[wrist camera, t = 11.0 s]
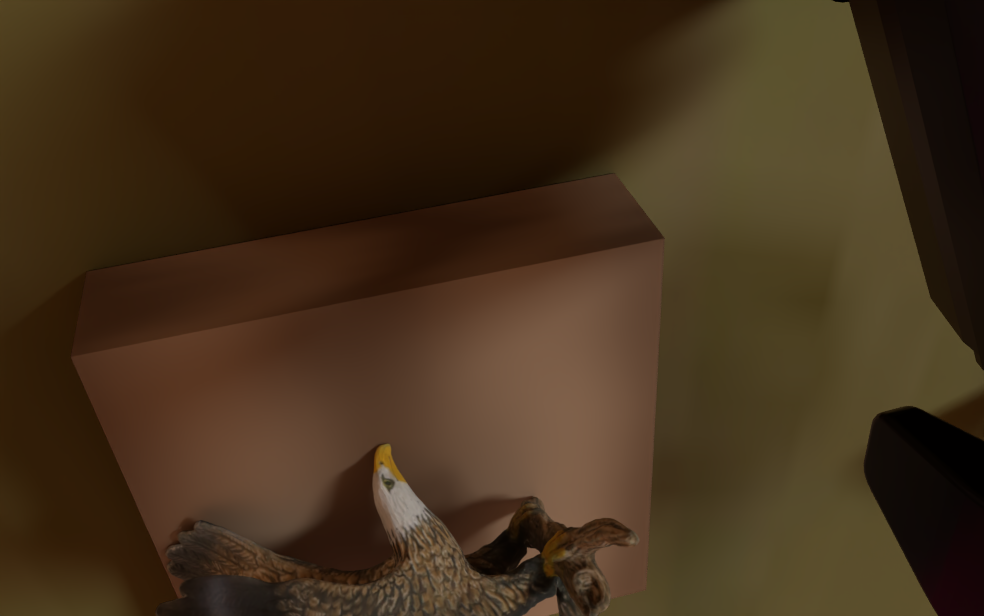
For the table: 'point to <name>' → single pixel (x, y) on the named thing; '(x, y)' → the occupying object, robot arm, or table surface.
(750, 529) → the table surface
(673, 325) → the table surface
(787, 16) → the table surface
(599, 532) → the eagle figurine
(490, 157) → the table surface
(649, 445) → the plinth
